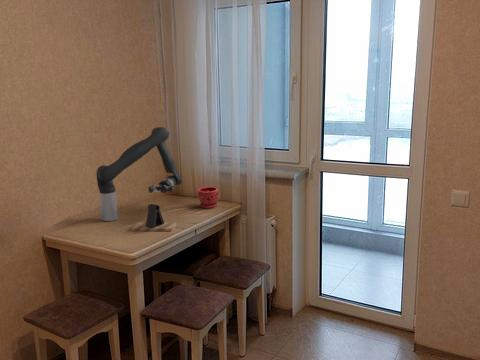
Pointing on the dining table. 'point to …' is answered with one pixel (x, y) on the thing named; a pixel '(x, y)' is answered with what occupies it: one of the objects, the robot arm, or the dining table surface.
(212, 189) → the plant pot
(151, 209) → the phone stand
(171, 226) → the oak board
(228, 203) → the dining table surface
